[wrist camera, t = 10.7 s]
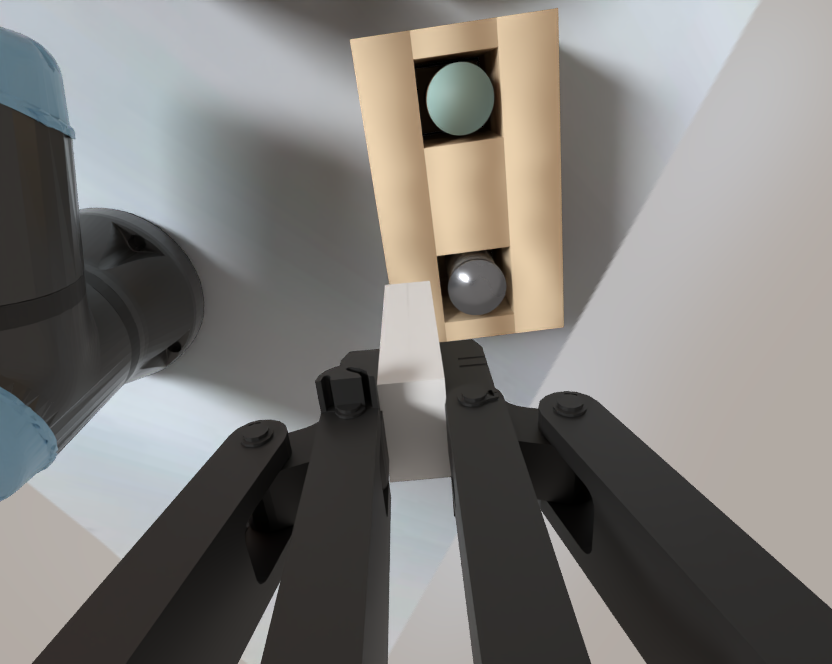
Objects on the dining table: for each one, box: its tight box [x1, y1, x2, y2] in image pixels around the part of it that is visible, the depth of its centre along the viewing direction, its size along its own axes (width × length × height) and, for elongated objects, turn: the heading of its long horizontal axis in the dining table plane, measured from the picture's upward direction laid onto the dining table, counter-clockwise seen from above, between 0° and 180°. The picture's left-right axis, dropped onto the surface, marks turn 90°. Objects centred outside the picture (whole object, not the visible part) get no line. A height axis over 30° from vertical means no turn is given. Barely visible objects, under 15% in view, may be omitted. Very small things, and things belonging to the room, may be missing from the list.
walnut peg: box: [424, 62, 494, 135], centre depth 36 cm, size 4×4×9 cm
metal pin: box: [444, 249, 506, 315], centre depth 41 cm, size 4×4×9 cm
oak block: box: [350, 8, 564, 342], centre depth 39 cm, size 12×20×10 cm, turn 8°
